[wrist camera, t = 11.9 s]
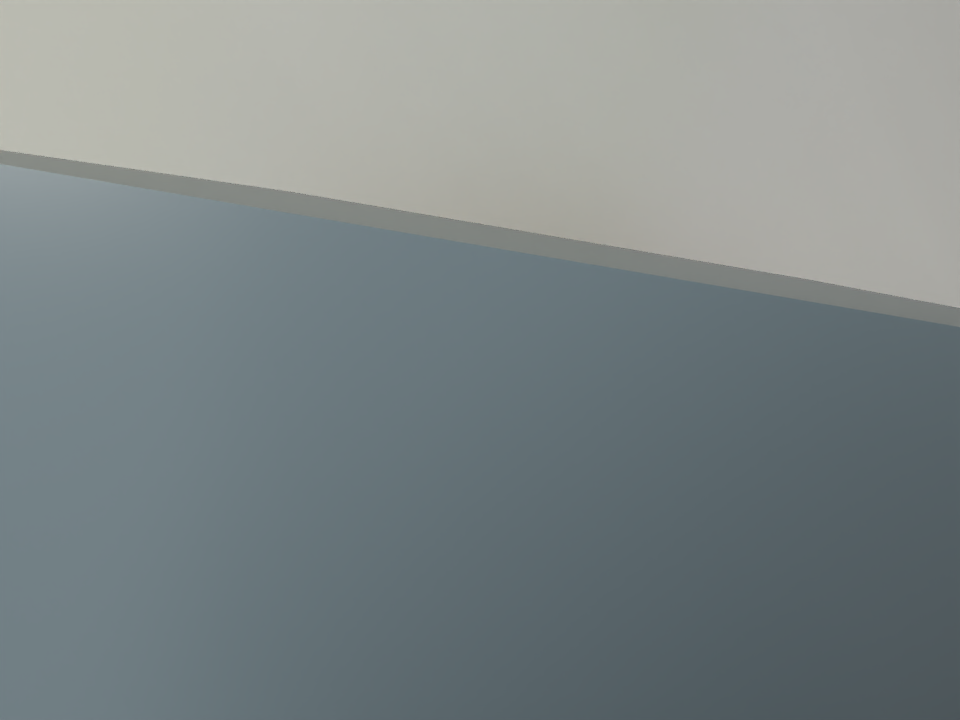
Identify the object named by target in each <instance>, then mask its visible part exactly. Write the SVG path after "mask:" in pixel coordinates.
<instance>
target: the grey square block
mask: <svg viewBox="0 0 960 720" xmlns="http://www.w3.org/2000/svg"><path fill="white" fill-rule="evenodd" d="M0 720H960V308H955V307H950V306H945V305H940V304H934V303H929V302H924V301H918V300H913V299H908V298H903V297H897V296H892V295H887V294H882V293H876V292H871V291H866V290H860V289H855V288H850V287H845V286H839V285H834V284H829V283H823V282H818V281H813V280H808V279H802V278H796V277H790V276H784V275H778V274H772V273H766V272H760V271H755V270H749V269H743V268H737V267H731V266H725V265H719V264H713V263H707V262H701V261H695V260H690V259H684V258H678V257H672V256H666V255H660V254H654V253H648V252H642V251H636V250H631V249H625V248H619V247H613V246H607V245H601V244H595V243H589V242H583V241H577V240H572V239H566V238H560V237H554V236H548V235H542V234H536V233H530V232H524V231H518V230H513V229H507V228H501V227H495V226H489V225H483V224H477V223H471V222H465V221H459V220H454V219H448V218H442V217H436V216H430V215H424V214H418V213H412V212H406V211H400V210H395V209H389V208H383V207H377V206H371V205H365V204H359V203H353V202H347V201H341V200H336V199H330V198H324V197H318V196H312V195H306V194H300V193H294V192H288V191H281V190H274V189H267V188H260V187H253V186H246V185H239V184H232V183H225V182H218V181H211V180H204V179H198V178H191V177H184V176H177V175H170V174H163V173H156V172H149V171H142V170H135V169H128V168H121V167H114V166H107V165H100V164H93V163H86V162H79V161H72V160H65V159H58V158H51V157H44V156H37V155H31V154H24V153H17V152H10V151H3V150H0Z"/></svg>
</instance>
